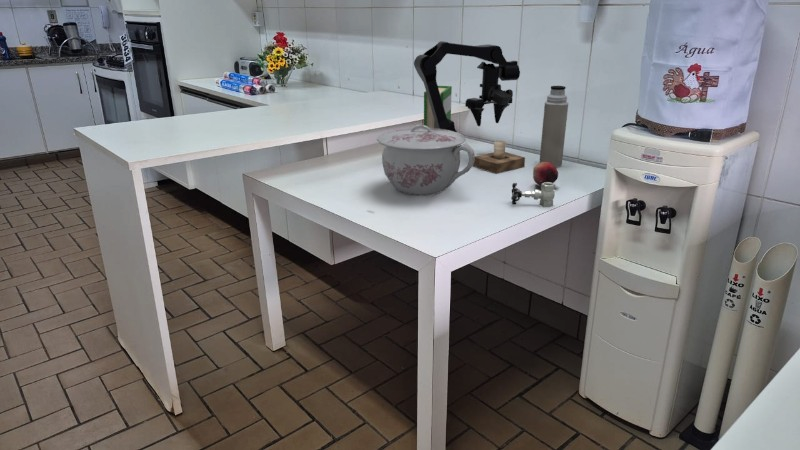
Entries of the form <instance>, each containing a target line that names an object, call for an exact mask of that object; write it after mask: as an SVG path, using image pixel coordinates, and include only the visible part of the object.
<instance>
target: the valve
mask: <svg viewBox="0 0 800 450" xmlns="http://www.w3.org/2000/svg"><path fill="white" fill-rule="evenodd" d="M517 185H518V183H517V182H513V183H512V184H511V186H512V189H511V205H517V202H519V201H520V200H521V198H522V197H524V198H530V197H531V198H533V200H536V201H537V200H539V206H541V207H543V208H551V207H552V206H554V198H555V191H554V190H555V188H556V187H555V186H556V185H555V183H550V182H544V183H542V184H541V187H540V190H539V189H537V188H536V189H534V190H533V191H530V190H528V191H527V190H525V192H523V191H522V190H521V189H520V188H518V187H517Z"/></svg>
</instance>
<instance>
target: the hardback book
mask: <svg viewBox="0 0 800 450" xmlns="http://www.w3.org/2000/svg"><path fill="white" fill-rule="evenodd" d="M452 88H453V86H451V85H438V89H439V92H440V96H441V99H442V103H443V106H444V110H445V113H446V117H447V119H449V120H451V121H452V93H453V92H452ZM423 125H425V126H427V127H429V128H434V116H433V113H432V109H431V106H430V102H429V99H428V96H427V92H426V90H425V91H424V92H423Z"/></svg>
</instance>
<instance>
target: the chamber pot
mask: <svg viewBox="0 0 800 450" xmlns="http://www.w3.org/2000/svg"><path fill="white" fill-rule="evenodd" d="M376 141H377V142H378V143H379V144H380V145H382V146H385V147H384V149H383V151H382V154H381V162H382V163H381V164H382V168H383V172H384V176H386V178H387V180H388V181H389V182H390V184H391V186H393V188H394V189H395V190H397V191H398V192H400V193H403V194H406V195H410V196H430V195H436V194H439V193H442V192H444V191H446V190H447V189H448V188H449V187H450V186H452V185H453V184H454V182H455V181H456V180H457V179H458V178H460V177H462V176H464V175H466V173H468V172H469V171H470V169H472V167H474V166H473V165H474V161H475V156H476V155H475V151H474V149H473V148H472V146H471V145H469V144H468V143H466V141H467V139H466V136H464V134H461V133H460V132H458V131H457V132H454V131H450V130H446V129H440V128H429V127H427V126H425V125H424V124H417V125H414V126H413V127H403V128H398V129H393V130H389V131H386V132H383V133H381V134H379V135H378V136H377V139H376ZM461 151H464V152H466V153H467V156H468V162H467V164H466V166H465V167H464V168H463V169H462V170H461V171H459V169H460V164H461Z"/></svg>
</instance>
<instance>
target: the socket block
mask: <svg viewBox="0 0 800 450" xmlns="http://www.w3.org/2000/svg"><path fill="white" fill-rule="evenodd" d="M493 155H494V151H493V152H489V153H485V154H480V155H475V161H474V165H473V166H472V167H475V168H478V169H481V170H483V171H487V172H490V173H492V174H496V175H497V174H500V173H504V172H510V171H513V170H517V169H523V168H525V163H526V157H525V156H521V155H518V154H514V153H510V152H506V151H505V159H501V160H498V159H494V158H493Z"/></svg>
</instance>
